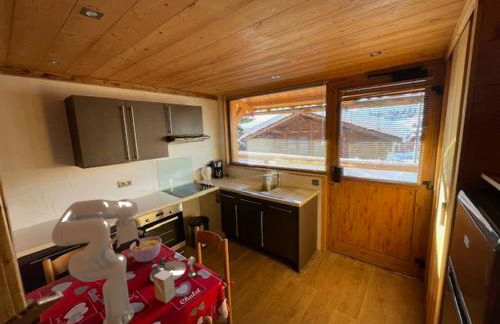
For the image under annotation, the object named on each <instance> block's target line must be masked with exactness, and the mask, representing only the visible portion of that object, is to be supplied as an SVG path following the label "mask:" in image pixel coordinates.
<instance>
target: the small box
mask: <svg viewBox="0 0 500 324" xmlns="http://www.w3.org/2000/svg"><path fill="white" fill-rule="evenodd" d="M153 284H154V293H155V299H157V300H158V301H161V302H162V303H164V304H167V303H168V302H170V301H171V300H172V299H173V298H174V297H175V296H176V287H175V281H174V277H173V273H171V272H169V271H166V270H162V271H160V272H159V273H157V274H156V275H154V282H153Z"/></svg>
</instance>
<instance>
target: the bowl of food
mask: <svg viewBox="0 0 500 324" xmlns="http://www.w3.org/2000/svg"><path fill="white" fill-rule="evenodd" d="M139 241H140V245H139V247H137V246H136V241H134V242H132V244H130V246H129V250H130V252H131V254H132V256H133V258H134V260H135V261H137V262H140V263H148V262H150V261H152V260H155V258H156V257H157V256H158V255H159V253H160V251H161V247H162V238H161V237H159V236H149V237H144V238H143V237H142V238H140V240H139Z"/></svg>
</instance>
